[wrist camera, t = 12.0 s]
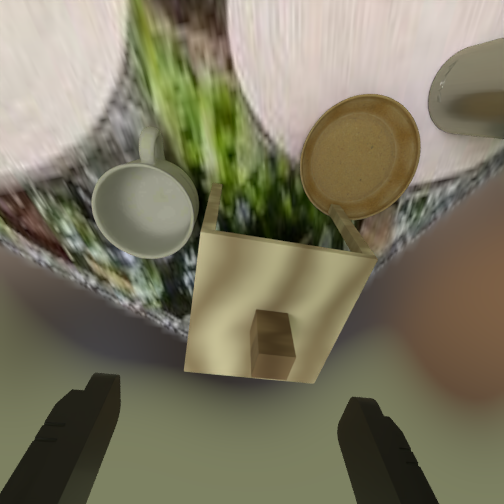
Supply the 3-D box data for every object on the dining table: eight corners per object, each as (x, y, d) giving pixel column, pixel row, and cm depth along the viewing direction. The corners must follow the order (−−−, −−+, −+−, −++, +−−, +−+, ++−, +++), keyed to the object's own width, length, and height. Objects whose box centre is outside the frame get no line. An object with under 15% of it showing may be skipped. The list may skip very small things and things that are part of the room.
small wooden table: (339, 205, 38) (405, 299, 23) (298, 313, 48) (324, 428, 33) (212, 182, 36) (191, 269, 20) (197, 301, 46) (175, 417, 31)
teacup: (188, 243, 42) (179, 271, 34) (109, 218, 39) (82, 243, 32) (220, 146, 36) (216, 155, 29) (130, 111, 34) (103, 111, 27)
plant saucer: (353, 65, 33) (362, 62, 31) (432, 146, 38) (446, 149, 35) (272, 172, 38) (275, 176, 36) (352, 233, 43) (359, 240, 40)
